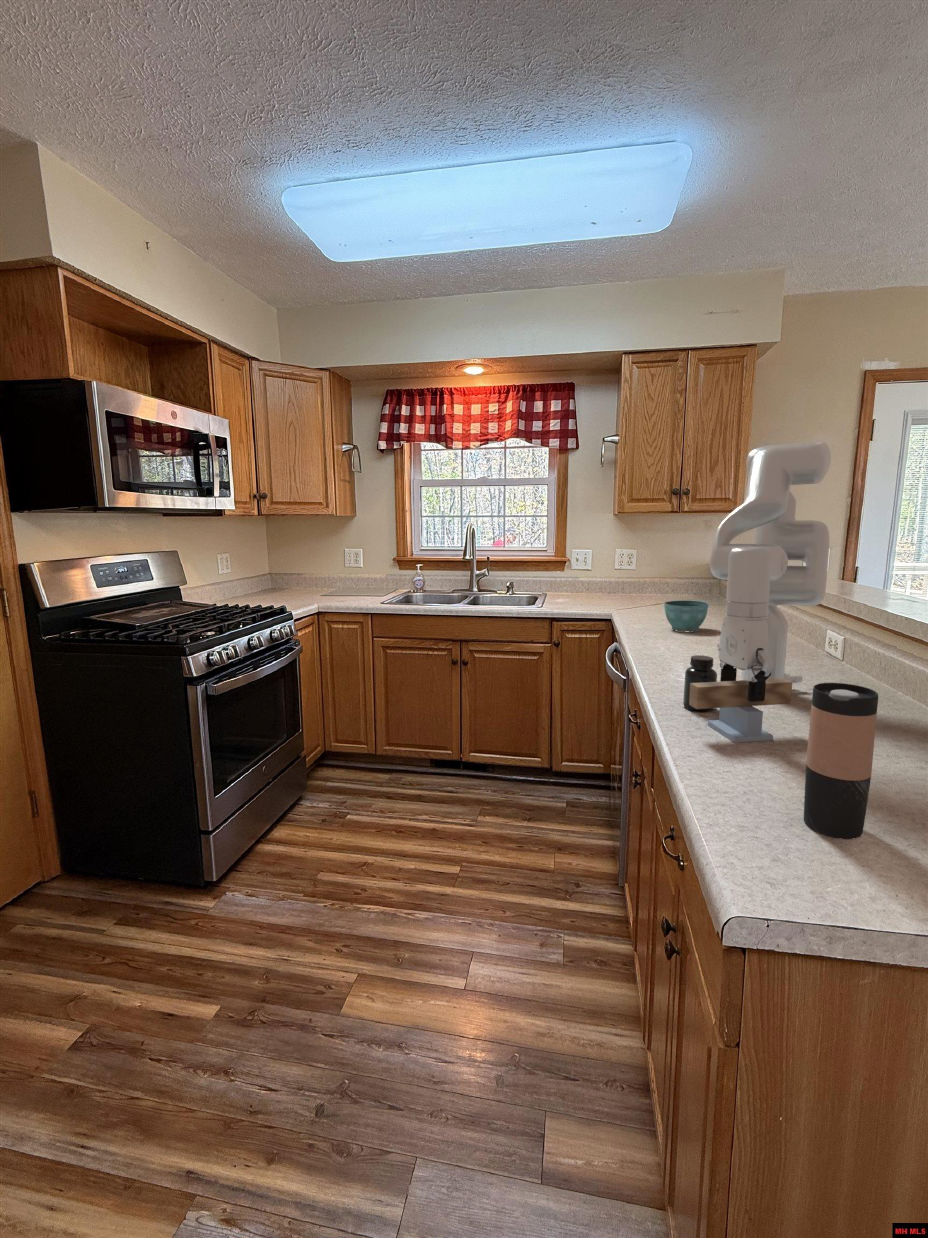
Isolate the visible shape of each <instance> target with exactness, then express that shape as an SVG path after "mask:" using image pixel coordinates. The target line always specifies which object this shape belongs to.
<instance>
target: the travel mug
mask: <svg viewBox="0 0 928 1238" xmlns="http://www.w3.org/2000/svg"><path fill="white" fill-rule="evenodd" d="M878 704H879V694H878V692H877V691H876V690H874V689H871V688H868V687H865V686H862V685H858V684H857V685H856V684H852V683H842V682H821V683H817V684H814V685H813V688H812V699H811V707H810V708H811V709H810V719H809V726H808V727H809V729H808V737H807V739H808V741H807V748H806V749H807V750H806V751H807V752H806V761H805V777H804V778H805V780H804V781H805V782H804V797H803V798H804V799H803V800H804V801H803V822H804V824H805V825H806V826H807V828H809V829H811V830H812V831H815V832H816V833H818V832H819V833H818V834H820V833H821V834H820V835H823V834H824V835H823V836H826V837H829V836H830V837H829V838H833V837H834V839H838V838H842V839H841V840H853V839H852V838H855V839H859V838H860V837H862V835H863V832H864V827H865V822H866V821H865V820H866V816H867V815H866V814H867V806H868V801H869V794H870V787H871V786H870V785H871V780H872V772H873V759H874V748H875V740H876V739H875V737H876V727H877V716H878V715H877V714H878Z"/></svg>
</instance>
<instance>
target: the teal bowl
mask: <svg viewBox="0 0 928 1238" xmlns="http://www.w3.org/2000/svg"><path fill="white" fill-rule="evenodd" d="M663 606H664V612H665V613H664V614H665V616H666V620H667V621H668V623H669V624H670V626H671V629H673V630H672V631H674V630H677V631H676V632H678V631H690V632H689V633H692V632H691V631H696V632H698V631H699V629H700V627H701V626H702V624H703V623H704V621H705V620H706V619H707V614H708V608H709V602H706V601H701V600H689V599H687V600H686V599H685V600H682V599H681V600H680V599H679V600H669V601H665V602H664V603H663Z"/></svg>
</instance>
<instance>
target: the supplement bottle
mask: <svg viewBox="0 0 928 1238" xmlns="http://www.w3.org/2000/svg"><path fill="white" fill-rule="evenodd" d="M689 665H690V666H689V667H688V668H686V670H685V673H684V684H683V699H682V700H683V702H682V705H683V707H684V708H685V709H686V710H689V711H693V712H699V713H708V712H712V711H714V710H715V708H709V709H695V708H694V707H692V706H691V705H689V697H690V683H703V682H718V673H717V672H716V670H715V669H713V668H714V657H711V656H708V655H696V654H695V655H692V656H691V657H690V662H689Z"/></svg>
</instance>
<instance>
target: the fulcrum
mask: <svg viewBox="0 0 928 1238" xmlns="http://www.w3.org/2000/svg"><path fill="white" fill-rule="evenodd" d="M718 715H719V716H718V719H713V720H711V719H710V720H707V726H708V727H710V728H712V730H714V731H716V732H717V733H719V734H720V735H722V736H723V737H724V738H727V739H728V740H730V741H731V742H733V743H735V744H736V743H749V742H750V743H752V742H763V741H764V742H765V741H766V742H767V741H773V740H774V734H772V733H770V732H768V731H766V730H764V729H763V715H764V711H762V710H760V709H758V708H756V706H743V707H726V708H719V713H718Z"/></svg>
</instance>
